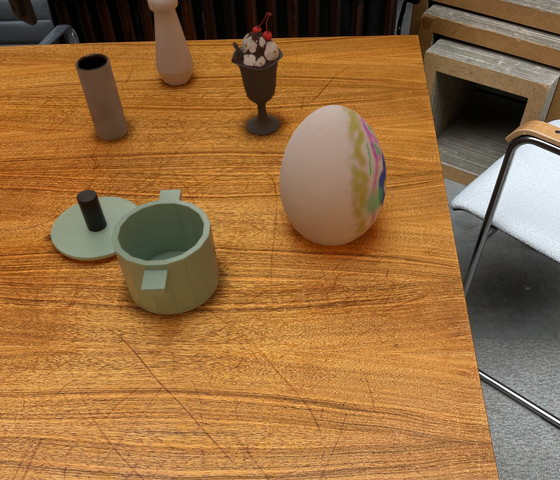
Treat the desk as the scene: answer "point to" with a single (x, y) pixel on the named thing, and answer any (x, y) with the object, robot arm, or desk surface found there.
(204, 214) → the pot
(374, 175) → the decorative egg
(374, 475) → the desk surface
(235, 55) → the sundae
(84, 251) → the lid
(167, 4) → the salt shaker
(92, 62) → the grey tube
